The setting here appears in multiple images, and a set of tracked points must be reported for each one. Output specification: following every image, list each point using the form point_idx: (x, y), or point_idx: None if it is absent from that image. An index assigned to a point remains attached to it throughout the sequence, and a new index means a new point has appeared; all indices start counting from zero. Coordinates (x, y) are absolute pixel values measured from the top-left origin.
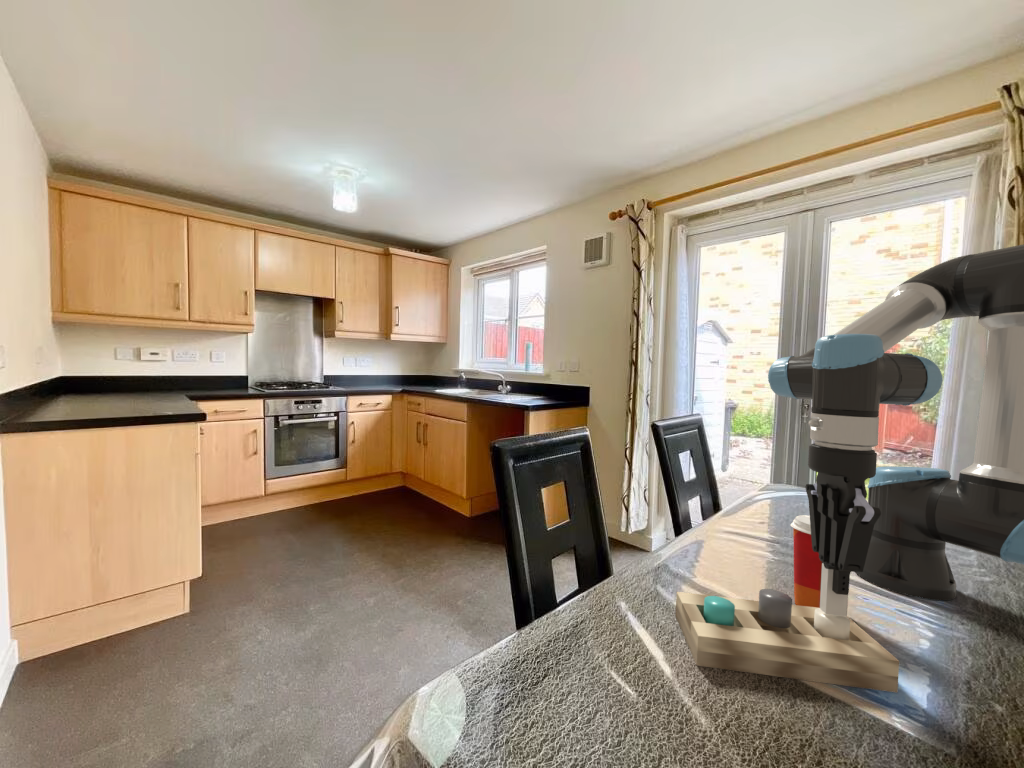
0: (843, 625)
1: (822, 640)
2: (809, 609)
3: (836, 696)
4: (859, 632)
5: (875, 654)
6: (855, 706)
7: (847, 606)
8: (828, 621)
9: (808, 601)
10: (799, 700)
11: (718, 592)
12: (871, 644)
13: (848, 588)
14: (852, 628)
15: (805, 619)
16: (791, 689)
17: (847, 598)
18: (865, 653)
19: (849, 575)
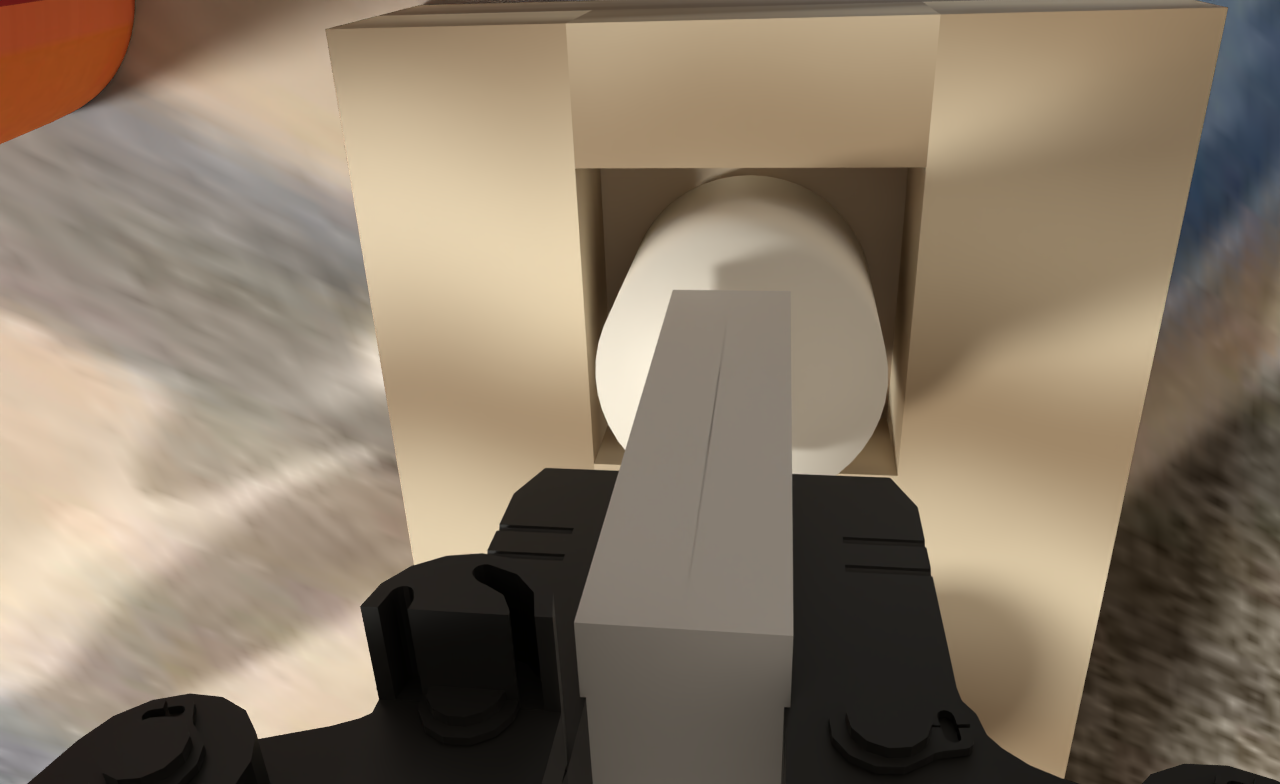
0: (885, 355)
1: (950, 500)
2: (429, 337)
3: (1176, 437)
4: (755, 94)
5: (1123, 176)
6: (1266, 378)
7: (790, 333)
8: (843, 460)
9: (54, 100)
10: (1212, 643)
11: (111, 604)
12: (959, 107)
13: (923, 544)
14: (686, 117)
15: (595, 432)
16: (1122, 639)
17: (789, 379)
18: (1113, 261)
19: (949, 682)
